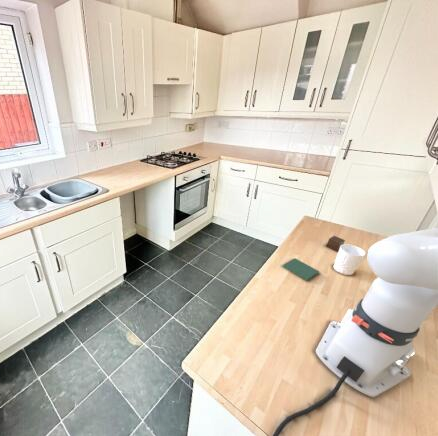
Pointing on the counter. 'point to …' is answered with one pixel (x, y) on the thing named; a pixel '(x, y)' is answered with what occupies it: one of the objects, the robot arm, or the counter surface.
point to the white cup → (348, 259)
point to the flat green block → (301, 269)
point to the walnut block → (335, 243)
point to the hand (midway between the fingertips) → (391, 272)
